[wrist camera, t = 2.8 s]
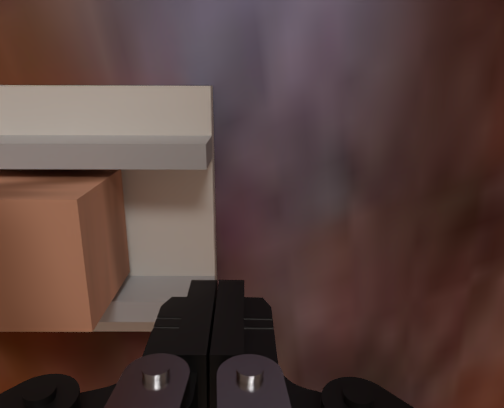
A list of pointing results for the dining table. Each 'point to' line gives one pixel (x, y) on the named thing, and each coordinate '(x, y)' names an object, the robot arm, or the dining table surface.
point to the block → (60, 248)
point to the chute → (130, 176)
